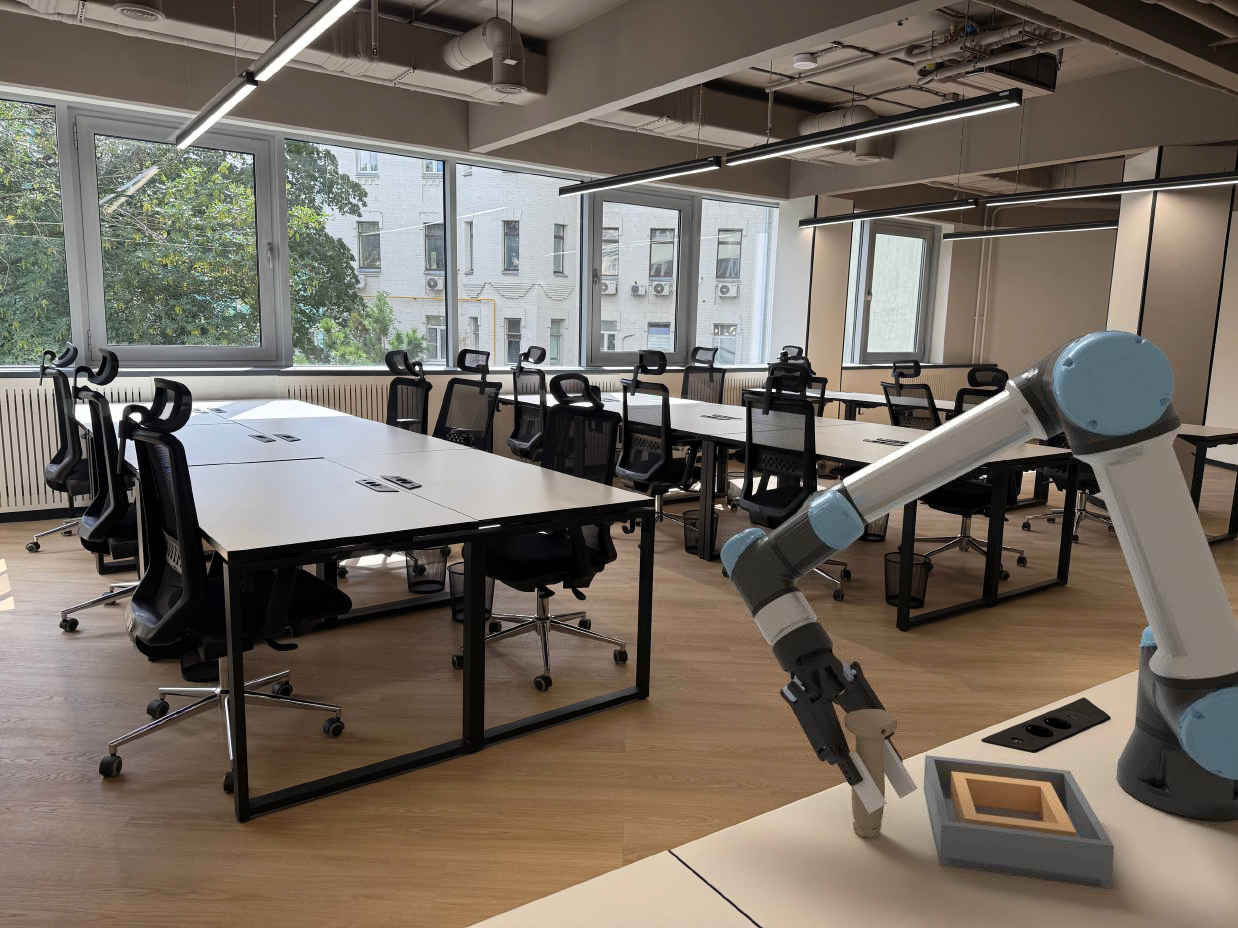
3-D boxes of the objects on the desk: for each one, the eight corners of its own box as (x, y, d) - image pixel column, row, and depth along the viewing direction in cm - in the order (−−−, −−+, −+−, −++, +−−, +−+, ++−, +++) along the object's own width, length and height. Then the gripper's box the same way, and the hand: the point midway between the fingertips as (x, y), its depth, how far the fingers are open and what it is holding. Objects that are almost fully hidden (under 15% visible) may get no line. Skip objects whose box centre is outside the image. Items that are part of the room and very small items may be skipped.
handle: (900, 836, 103) (905, 720, 101) (858, 847, 101) (862, 729, 99) (874, 817, 108) (879, 706, 106) (833, 827, 105) (837, 714, 104)
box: (1067, 806, 110) (1069, 770, 110) (1110, 888, 93) (1114, 845, 92) (923, 789, 115) (925, 754, 114) (939, 864, 97) (941, 824, 97)
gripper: (824, 635, 120) (919, 790, 108) (730, 661, 109) (825, 836, 98) (855, 607, 115) (958, 767, 103) (760, 632, 104) (863, 813, 93)
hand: (893, 800), depth 101 cm, fingers open, 5 cm apart
